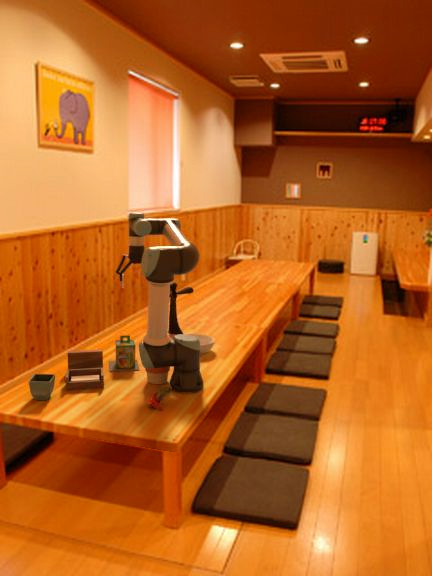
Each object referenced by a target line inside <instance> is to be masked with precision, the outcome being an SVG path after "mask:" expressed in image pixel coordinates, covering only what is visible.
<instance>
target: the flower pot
mask: <svg viewBox="0 0 432 576" xmlns="http://www.w3.org/2000/svg"><path fill="white" fill-rule="evenodd" d="M55 383H56V374H54V373H34V374H33V376H32V377H31V378H30V379H29V380H28V385H29V391H30V395H31V397H33V399H34V400H35V401H39V400H40V401H47V400H49V398H50V397H51V395H52V393H53V391H54V389H55Z"/></svg>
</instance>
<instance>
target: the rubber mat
mask: <svg viewBox="0 0 432 576" xmlns="http://www.w3.org/2000/svg"><path fill="white" fill-rule="evenodd" d="M108 368H109V372H110V373H117V372H118V373H119V372H135V371H136V372H137V371H140V366H139V362H138V359H135V368H116V360H108Z"/></svg>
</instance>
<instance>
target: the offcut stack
mask: <svg viewBox="0 0 432 576" xmlns="http://www.w3.org/2000/svg"><path fill="white" fill-rule="evenodd" d="M94 380H99V375H87V376H71V379H70V382H77V381H94Z"/></svg>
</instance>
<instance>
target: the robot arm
mask: <svg viewBox="0 0 432 576" xmlns="http://www.w3.org/2000/svg"><path fill="white" fill-rule="evenodd" d="M127 220H128V244H129V245H128V254H124V253H123V254H122V257H121V260H120V262H119V264H118V265H117V269H116V270H115V274H117V275H119V281H120V282H121V288H122V289H124V288H125V276H124V273H125V272H126V271H127V270H128V268H129V267H130V266H131V265H132V264H134V265H140V266H141V267H140V269H141V275H142V276H143V277H145V281H147V283H148V296H147V297H148V298H147V329H146V334H145V335H144V336H143V339H142V340H143V341H141V342H139V344H138V352H139V357H140V361H141V365H142V367H143V368H144V369H145V368H146V369H155V368H164V367H170V368H172V367H173V369H172V374H171V377H170V380H169V385H171V388H172V389H171V391H174V392H175V393H180V394H181V393H182V394H193V393H197V392H200V391H201V390H202V389H203V390H204V379H203V377H202V372H201V354H200V350H201V348H200V341H199V339H198V338H196V337H194V336H191V335H185V334H186V333H185V334H184V333H183V334H178V335H176V334H174V336H173V338H172V339H171V337H170V335H168V330H169V311H170V298H169V294H170V284H173V283H174V281H175V276H180V275H186V274H189V273H190V272H192V271H194V269H195V268H197V266H198V264H199V261H200V257H201V256H200V255H201V254H200V251H199V248H198V247H197V246H196V244H194V243H192V242H190V241H189V240H188V238H187V237H186V236H185V234H184V233H183V232H182V229H181V228H182V224H181V221H180V219H178V218H146V217H145V213H143V212H135V211H134V212H130V213H128V219H127ZM147 236H164V237H165V239H166V240H167V243H168V244H169V245H170V246H149V247H147V248H145V247H146V246H145V242H146V241H145V239H146V238H145V237H147ZM127 259H128V260H129V261H128V262H127V263H126V264H125V265H124V263H125V261H126V260H127ZM123 265H124V266H123Z"/></svg>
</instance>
